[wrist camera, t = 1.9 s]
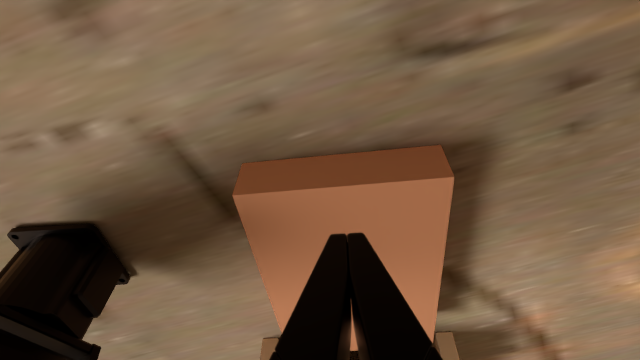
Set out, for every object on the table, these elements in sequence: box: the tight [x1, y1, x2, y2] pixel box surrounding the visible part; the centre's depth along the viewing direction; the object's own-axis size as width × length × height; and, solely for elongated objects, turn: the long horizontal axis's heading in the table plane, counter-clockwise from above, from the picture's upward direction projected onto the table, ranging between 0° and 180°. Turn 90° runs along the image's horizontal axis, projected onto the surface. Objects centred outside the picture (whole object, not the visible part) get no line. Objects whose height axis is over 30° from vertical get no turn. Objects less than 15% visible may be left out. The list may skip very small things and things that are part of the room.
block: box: [232, 145, 454, 351], centre depth 27 cm, size 12×18×4 cm, turn 7°
